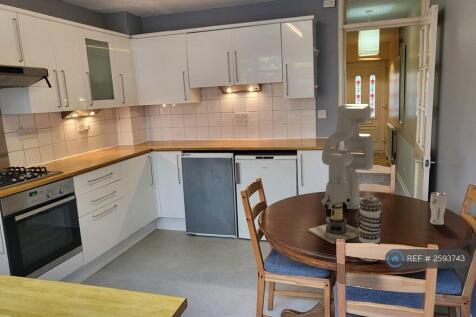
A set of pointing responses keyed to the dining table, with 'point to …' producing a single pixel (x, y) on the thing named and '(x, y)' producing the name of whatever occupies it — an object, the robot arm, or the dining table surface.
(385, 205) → the dining table surface
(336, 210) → the gold cylinder
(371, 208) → the decorative candle
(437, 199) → the beer glass
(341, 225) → the ring
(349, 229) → the board
